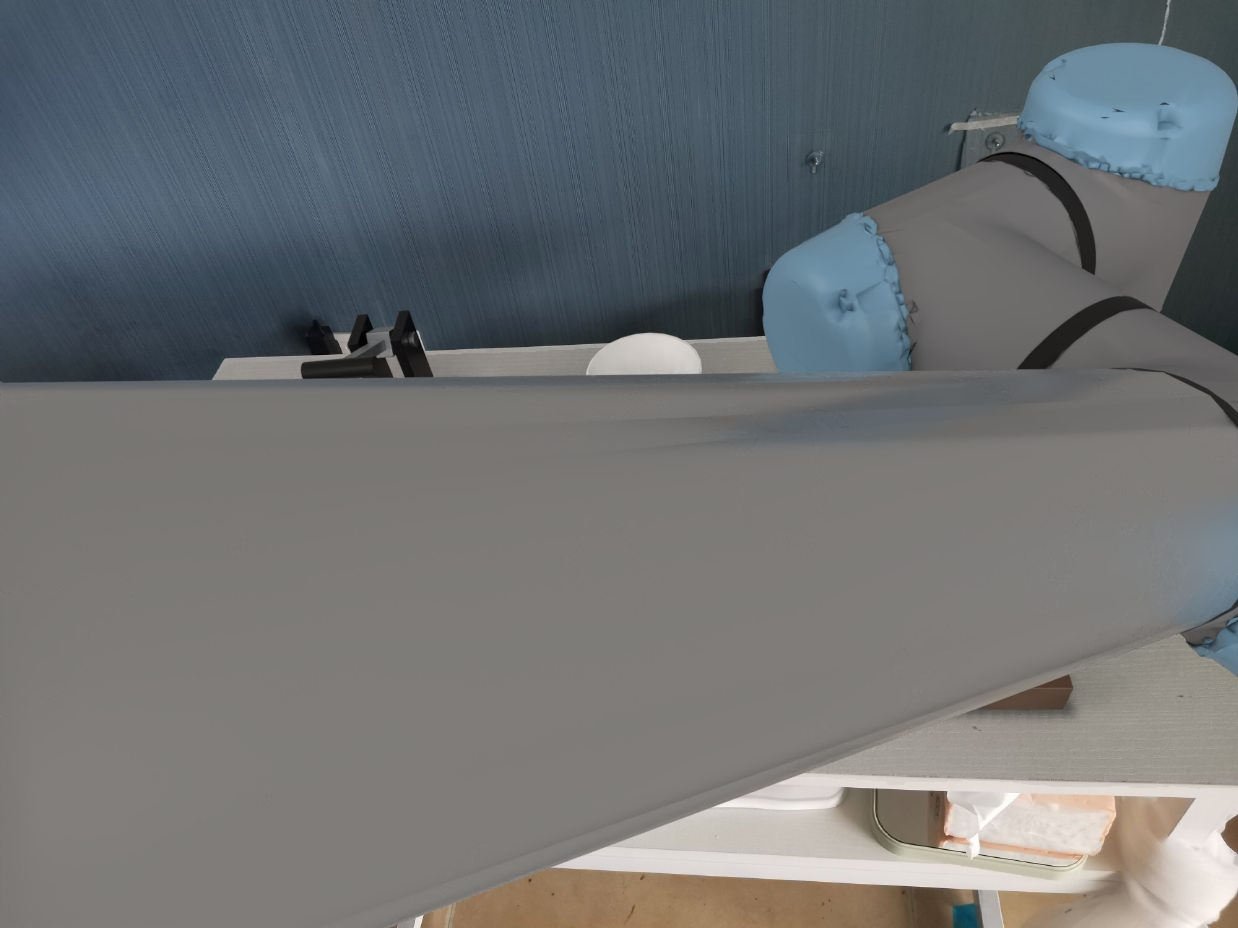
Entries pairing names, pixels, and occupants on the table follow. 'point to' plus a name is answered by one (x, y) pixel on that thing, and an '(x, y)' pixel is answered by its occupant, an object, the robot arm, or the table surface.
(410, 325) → the lever bracket
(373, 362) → the lock lever
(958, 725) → the table surface
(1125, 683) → the table surface
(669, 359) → the cup
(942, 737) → the table surface
